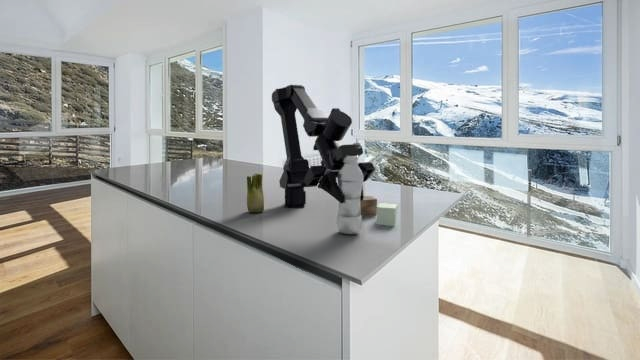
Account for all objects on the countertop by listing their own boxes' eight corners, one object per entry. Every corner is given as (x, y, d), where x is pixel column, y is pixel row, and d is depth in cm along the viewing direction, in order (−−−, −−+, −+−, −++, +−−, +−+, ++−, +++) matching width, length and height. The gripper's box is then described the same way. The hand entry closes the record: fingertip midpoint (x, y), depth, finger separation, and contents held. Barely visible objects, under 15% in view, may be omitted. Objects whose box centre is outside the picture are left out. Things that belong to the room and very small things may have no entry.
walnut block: (361, 216, 109) (361, 200, 109) (355, 212, 114) (355, 196, 113) (376, 215, 111) (377, 199, 110) (370, 211, 115) (370, 195, 115)
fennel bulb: (248, 214, 110) (247, 175, 108) (244, 211, 114) (243, 173, 112) (266, 213, 112) (266, 174, 110) (262, 209, 117) (261, 172, 114)
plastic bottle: (343, 227, 98) (345, 153, 94) (366, 232, 94) (369, 154, 90) (330, 233, 92) (332, 155, 89) (354, 239, 89) (356, 157, 85)
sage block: (376, 224, 101) (376, 207, 100) (378, 219, 106) (379, 203, 105) (394, 226, 100) (395, 208, 99) (396, 221, 105) (397, 204, 104)
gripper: (309, 132, 88) (332, 185, 80) (372, 131, 97) (398, 179, 89) (295, 161, 96) (315, 212, 88) (354, 158, 105) (377, 203, 97)
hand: (352, 201), depth 91 cm, fingers closed on plastic bottle, 5 cm apart
